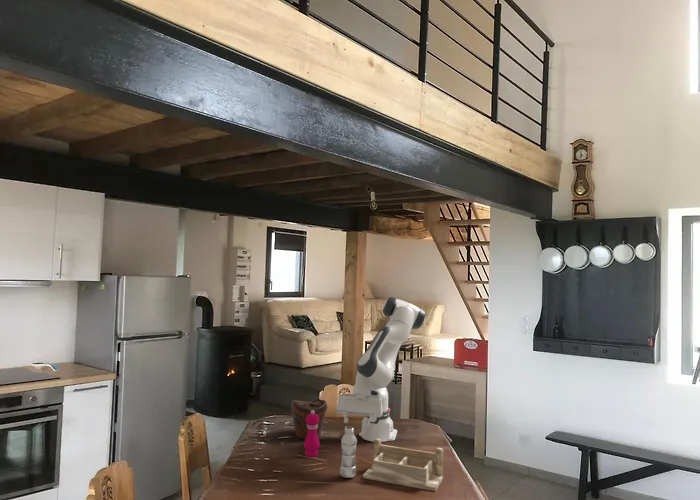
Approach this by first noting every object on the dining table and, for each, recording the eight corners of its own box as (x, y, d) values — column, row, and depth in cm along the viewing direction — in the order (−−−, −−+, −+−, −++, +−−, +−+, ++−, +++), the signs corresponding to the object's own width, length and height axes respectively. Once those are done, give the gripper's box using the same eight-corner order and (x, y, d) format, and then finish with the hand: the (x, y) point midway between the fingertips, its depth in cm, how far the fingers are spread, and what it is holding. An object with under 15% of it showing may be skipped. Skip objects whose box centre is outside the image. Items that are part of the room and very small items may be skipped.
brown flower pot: (334, 432, 278) (334, 397, 278) (311, 443, 261) (311, 406, 261) (307, 426, 287) (307, 393, 288) (283, 436, 270) (283, 400, 271)
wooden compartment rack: (374, 466, 233) (375, 438, 233) (443, 477, 222) (443, 448, 222) (363, 478, 220) (363, 448, 220) (435, 491, 208) (435, 460, 209)
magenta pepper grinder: (317, 457, 241) (318, 412, 242) (301, 456, 243) (302, 411, 243) (321, 452, 249) (322, 408, 249) (306, 450, 250) (307, 407, 250)
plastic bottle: (339, 473, 223) (340, 425, 224) (355, 473, 224) (356, 425, 224) (340, 480, 217) (341, 430, 217) (357, 480, 218) (358, 430, 218)
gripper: (338, 389, 240) (331, 417, 230) (383, 393, 235) (378, 422, 225) (340, 397, 244) (334, 424, 234) (385, 401, 239) (380, 429, 229)
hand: (356, 423), depth 230 cm, fingers open, 8 cm apart
